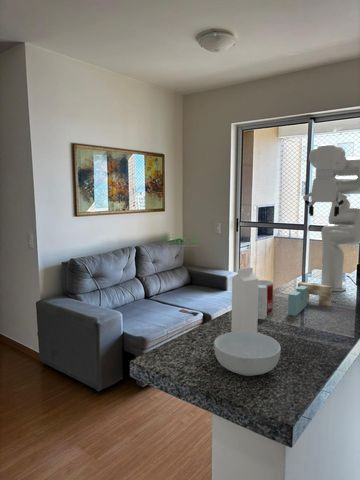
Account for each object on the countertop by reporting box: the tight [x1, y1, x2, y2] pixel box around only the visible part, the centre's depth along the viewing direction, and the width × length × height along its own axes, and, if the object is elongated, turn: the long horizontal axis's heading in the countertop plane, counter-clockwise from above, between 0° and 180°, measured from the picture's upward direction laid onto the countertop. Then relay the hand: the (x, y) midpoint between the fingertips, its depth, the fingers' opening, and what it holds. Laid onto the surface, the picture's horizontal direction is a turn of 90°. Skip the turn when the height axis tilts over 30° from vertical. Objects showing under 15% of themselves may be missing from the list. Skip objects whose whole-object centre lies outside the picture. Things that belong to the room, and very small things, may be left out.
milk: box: [230, 267, 259, 333], centre depth 114 cm, size 6×6×22 cm
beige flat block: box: [297, 281, 333, 307], centre depth 150 cm, size 13×3×8 cm, turn 56°
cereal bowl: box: [213, 331, 282, 377], centre depth 92 cm, size 17×17×7 cm
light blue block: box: [287, 286, 308, 317], centre depth 141 cm, size 16×3×8 cm, turn 146°
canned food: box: [258, 279, 274, 313], centre depth 141 cm, size 8×8×11 cm
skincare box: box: [258, 285, 268, 320], centre depth 132 cm, size 6×4×12 cm
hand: (323, 216), depth 150 cm, fingers open, 9 cm apart
